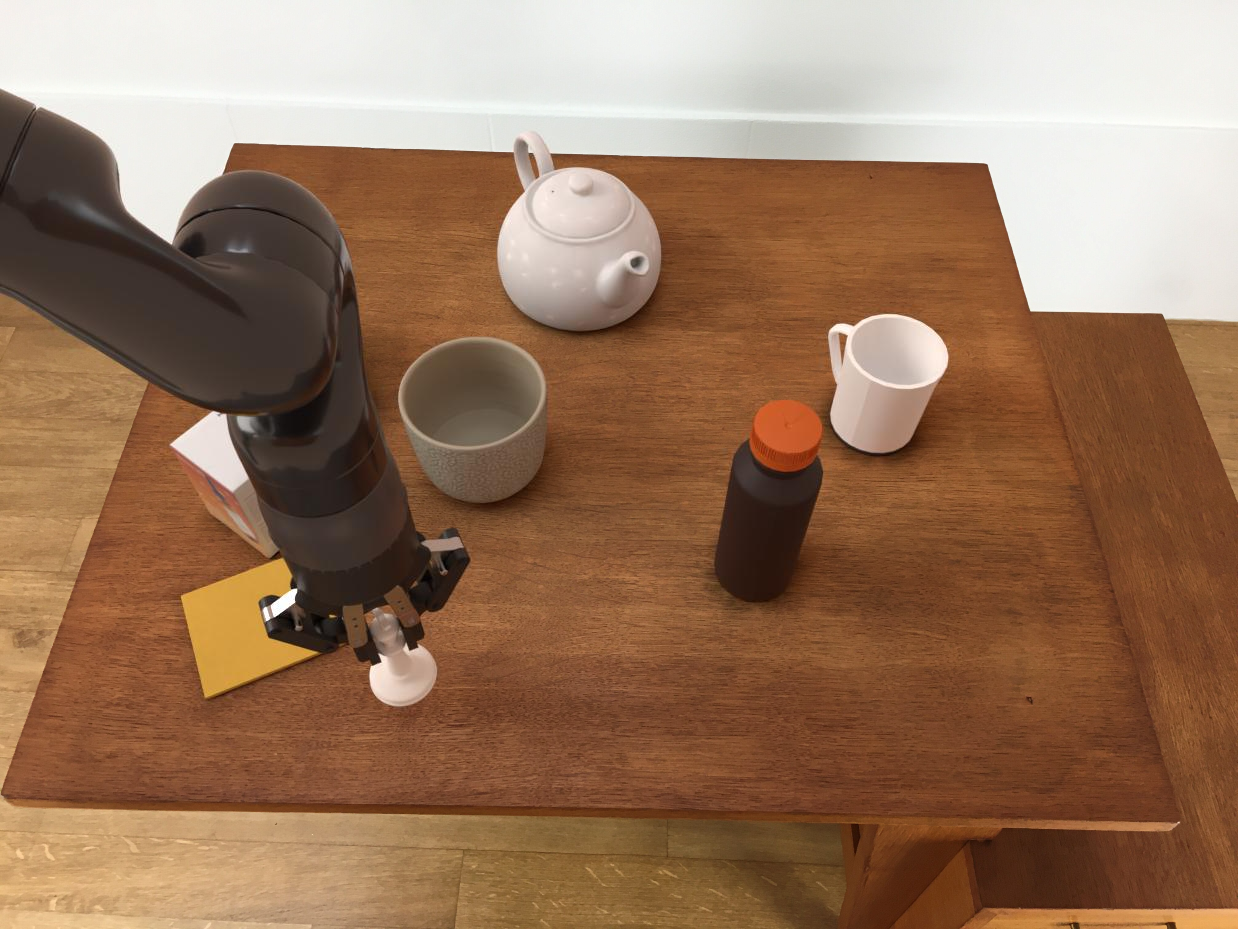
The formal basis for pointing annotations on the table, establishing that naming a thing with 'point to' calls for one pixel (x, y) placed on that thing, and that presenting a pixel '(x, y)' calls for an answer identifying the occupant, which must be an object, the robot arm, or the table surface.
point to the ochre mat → (238, 629)
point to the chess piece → (399, 664)
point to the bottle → (769, 501)
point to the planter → (476, 417)
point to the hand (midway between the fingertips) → (391, 645)
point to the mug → (883, 380)
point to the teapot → (576, 245)
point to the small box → (222, 480)
